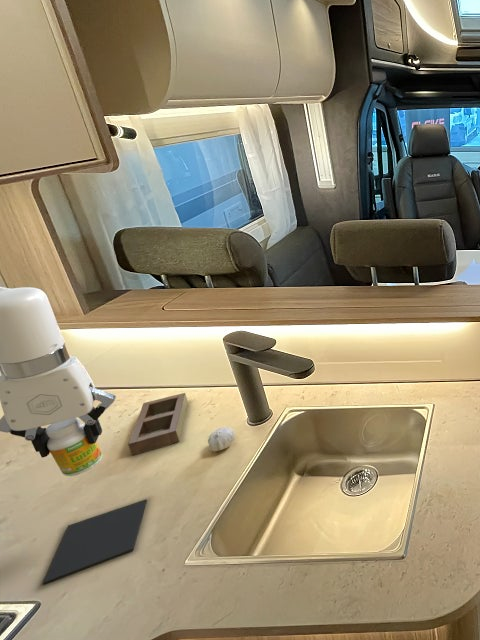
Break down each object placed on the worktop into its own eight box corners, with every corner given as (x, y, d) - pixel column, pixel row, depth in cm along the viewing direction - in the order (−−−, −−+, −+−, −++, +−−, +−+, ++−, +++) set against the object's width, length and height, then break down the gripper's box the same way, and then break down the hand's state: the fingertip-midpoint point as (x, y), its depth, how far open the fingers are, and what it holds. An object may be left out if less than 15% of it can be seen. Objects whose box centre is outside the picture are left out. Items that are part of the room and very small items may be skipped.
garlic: (225, 456, 99) (221, 439, 97) (203, 455, 99) (198, 438, 97) (242, 437, 104) (238, 420, 103) (221, 436, 105) (216, 419, 103)
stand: (132, 455, 98) (128, 444, 97) (146, 413, 111) (143, 402, 110) (179, 441, 103) (175, 430, 101) (188, 402, 116) (185, 392, 115)
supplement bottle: (78, 479, 74) (55, 437, 70) (54, 475, 75) (30, 434, 71) (110, 454, 79) (90, 414, 75) (87, 451, 80) (66, 411, 76)
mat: (43, 584, 72) (42, 582, 72) (69, 527, 82) (68, 525, 81) (133, 550, 78) (132, 548, 77) (147, 500, 87) (146, 499, 87)
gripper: (-56, 388, 62) (-8, 479, 68) (98, 357, 70) (129, 441, 76) (-29, 362, 68) (13, 448, 74) (111, 337, 76) (138, 416, 82)
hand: (72, 444), depth 75 cm, fingers closed on supplement bottle, 5 cm apart
